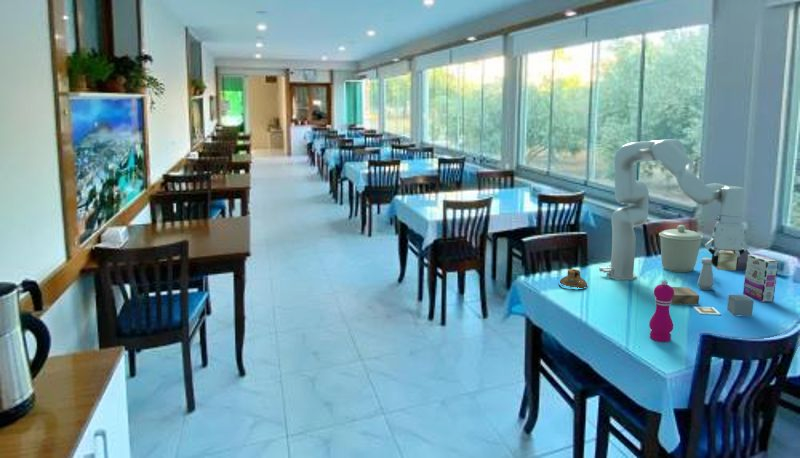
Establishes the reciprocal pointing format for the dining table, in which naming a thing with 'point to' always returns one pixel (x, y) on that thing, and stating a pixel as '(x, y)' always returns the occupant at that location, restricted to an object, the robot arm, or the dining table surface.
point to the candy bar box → (760, 278)
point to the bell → (573, 279)
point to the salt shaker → (706, 275)
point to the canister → (679, 249)
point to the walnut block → (684, 296)
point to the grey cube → (740, 305)
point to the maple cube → (726, 260)
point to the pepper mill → (662, 313)
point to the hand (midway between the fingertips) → (724, 265)
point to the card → (707, 310)
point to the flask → (741, 260)
